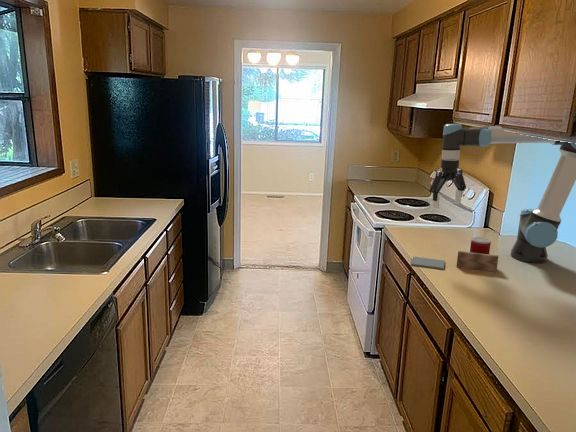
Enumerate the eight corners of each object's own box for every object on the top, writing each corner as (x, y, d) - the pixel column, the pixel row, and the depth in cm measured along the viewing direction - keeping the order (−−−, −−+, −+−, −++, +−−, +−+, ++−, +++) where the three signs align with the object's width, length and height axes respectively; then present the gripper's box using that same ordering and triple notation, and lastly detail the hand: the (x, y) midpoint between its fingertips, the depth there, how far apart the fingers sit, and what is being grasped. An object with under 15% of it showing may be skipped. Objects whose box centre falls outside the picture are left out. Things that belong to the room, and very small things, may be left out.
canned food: (489, 266, 192) (492, 242, 189) (470, 265, 194) (473, 241, 191) (485, 260, 199) (488, 237, 197) (467, 259, 201) (469, 236, 198)
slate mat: (444, 262, 197) (445, 260, 197) (443, 269, 188) (443, 267, 188) (413, 258, 202) (413, 256, 202) (410, 265, 193) (410, 263, 193)
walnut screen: (496, 270, 187) (498, 255, 185) (496, 272, 186) (498, 256, 184) (456, 265, 193) (458, 250, 191) (456, 266, 191) (458, 251, 190)
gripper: (463, 156, 202) (460, 201, 207) (422, 160, 191) (420, 207, 196) (477, 158, 195) (472, 204, 200) (435, 162, 184) (432, 210, 189)
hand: (446, 206), depth 198 cm, fingers open, 13 cm apart
